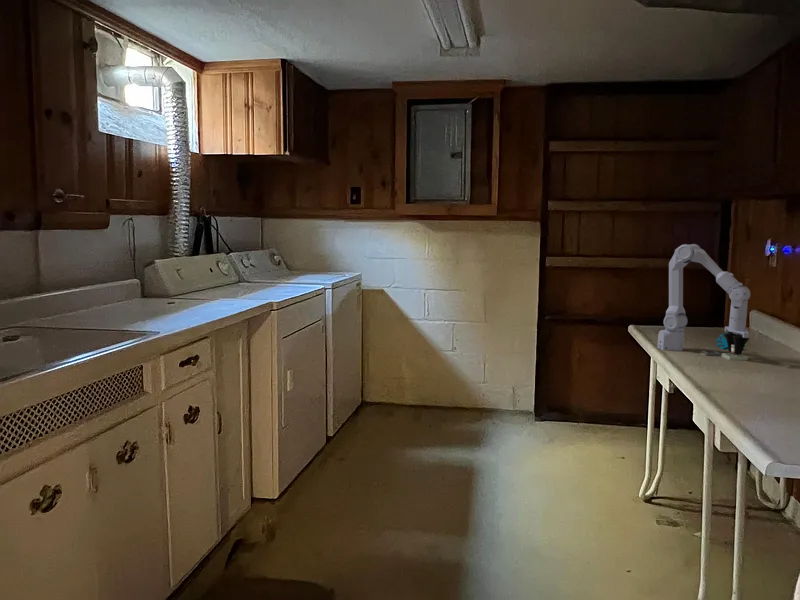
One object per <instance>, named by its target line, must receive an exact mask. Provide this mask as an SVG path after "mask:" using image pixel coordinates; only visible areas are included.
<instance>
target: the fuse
mask: <svg viewBox="0 0 800 600" xmlns="http://www.w3.org/2000/svg"><path fill="white" fill-rule="evenodd" d="M730 353H731V356H738V355H736V354H735V352H734V345H731V352H730Z"/></svg>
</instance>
